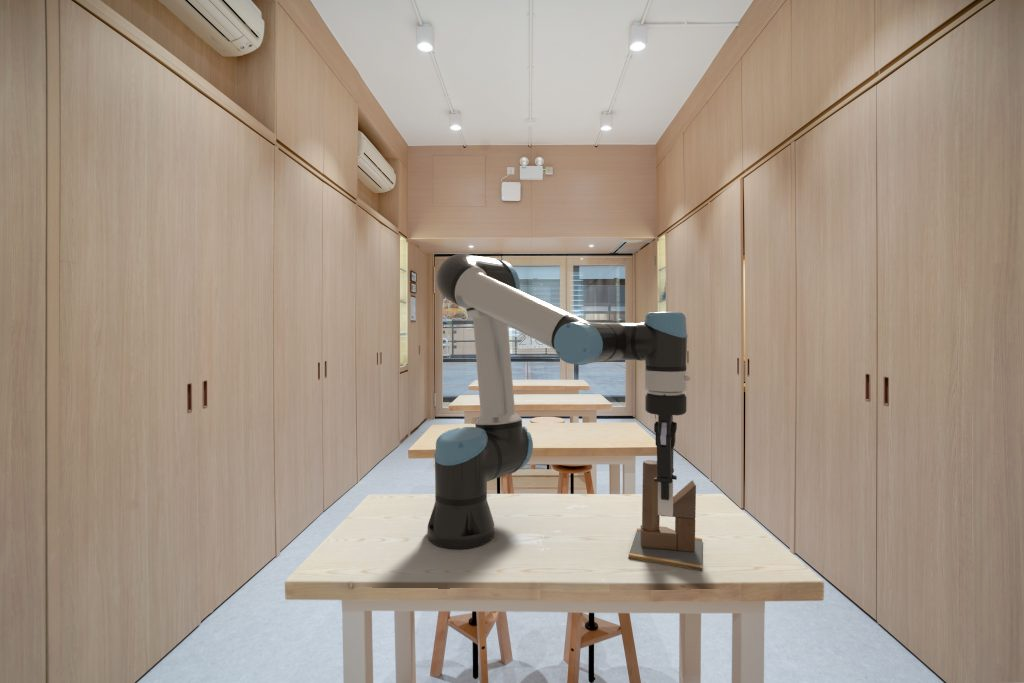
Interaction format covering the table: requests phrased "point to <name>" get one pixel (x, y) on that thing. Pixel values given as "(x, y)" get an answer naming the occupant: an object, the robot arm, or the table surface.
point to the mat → (667, 554)
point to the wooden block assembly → (681, 511)
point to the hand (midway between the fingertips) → (665, 514)
